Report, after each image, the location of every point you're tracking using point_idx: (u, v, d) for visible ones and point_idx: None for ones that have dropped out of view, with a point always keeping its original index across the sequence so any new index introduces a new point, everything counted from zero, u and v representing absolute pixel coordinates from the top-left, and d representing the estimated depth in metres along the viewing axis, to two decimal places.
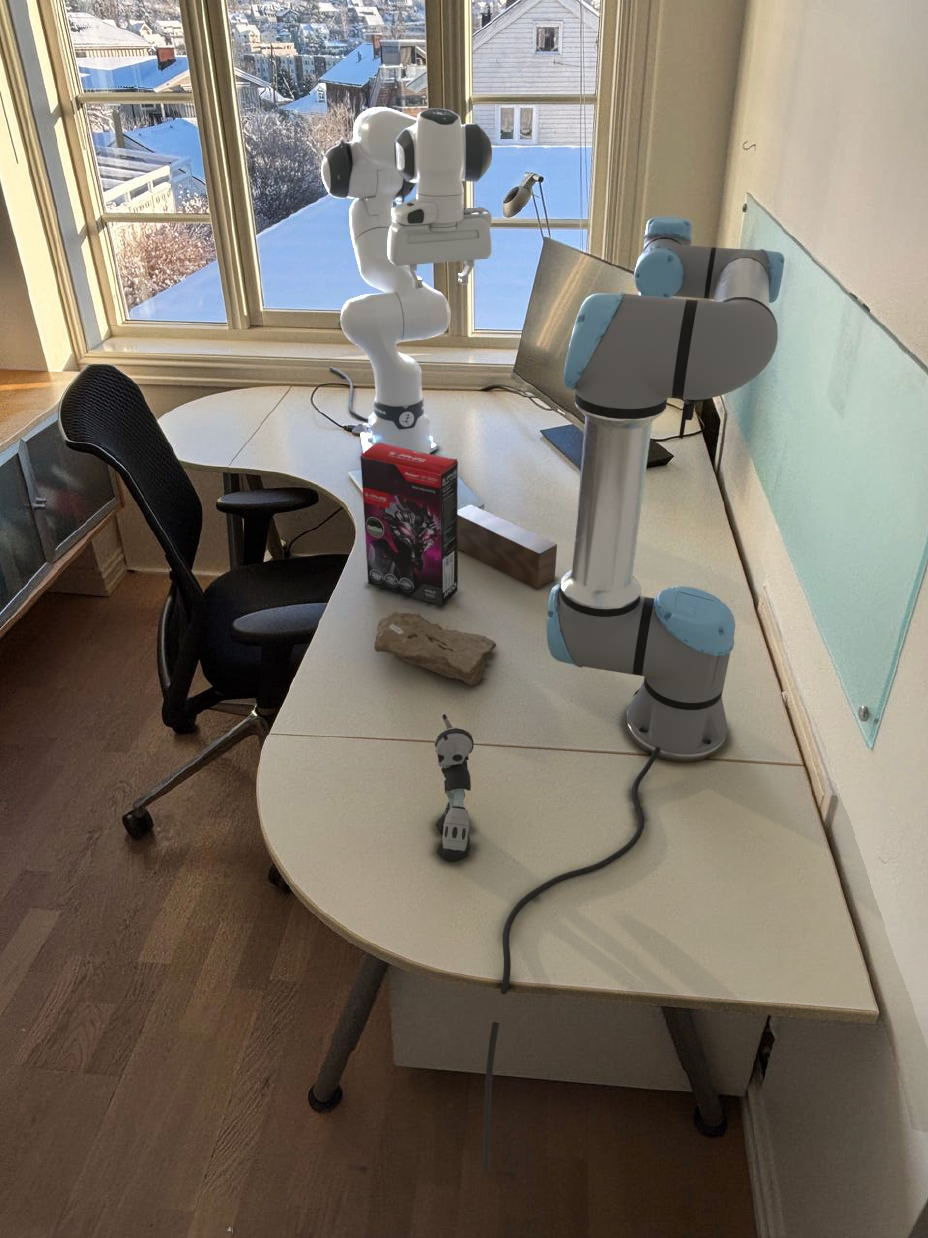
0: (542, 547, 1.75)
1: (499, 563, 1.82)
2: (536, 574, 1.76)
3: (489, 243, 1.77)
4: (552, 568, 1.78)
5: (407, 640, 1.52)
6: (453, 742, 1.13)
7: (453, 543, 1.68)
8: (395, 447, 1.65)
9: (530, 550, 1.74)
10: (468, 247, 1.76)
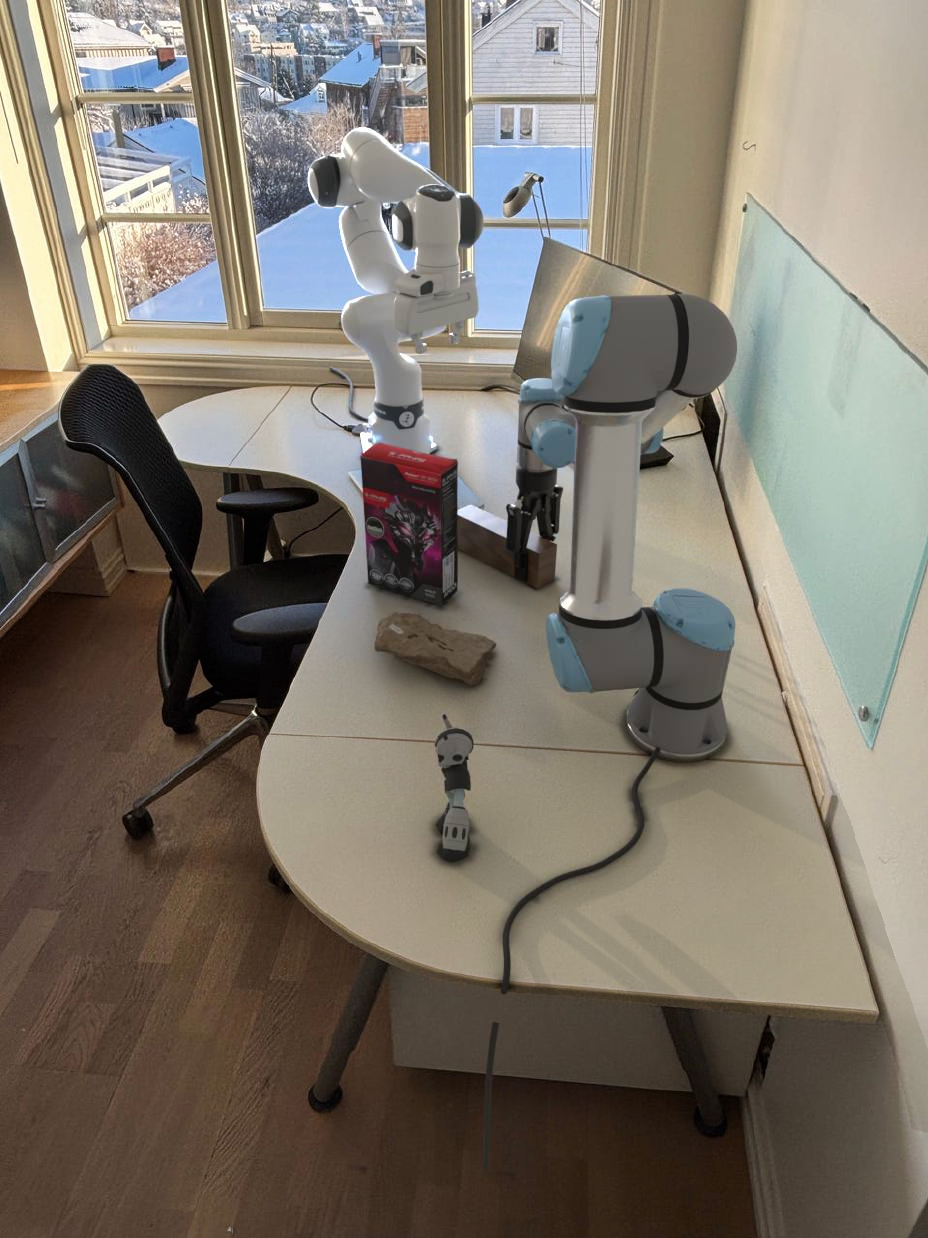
0: (542, 547, 1.75)
1: (499, 563, 1.82)
2: (536, 574, 1.76)
3: (477, 303, 1.88)
4: (552, 568, 1.78)
5: (407, 640, 1.52)
6: (453, 742, 1.13)
7: (453, 543, 1.68)
8: (395, 447, 1.65)
9: (530, 550, 1.74)
10: (462, 309, 1.86)
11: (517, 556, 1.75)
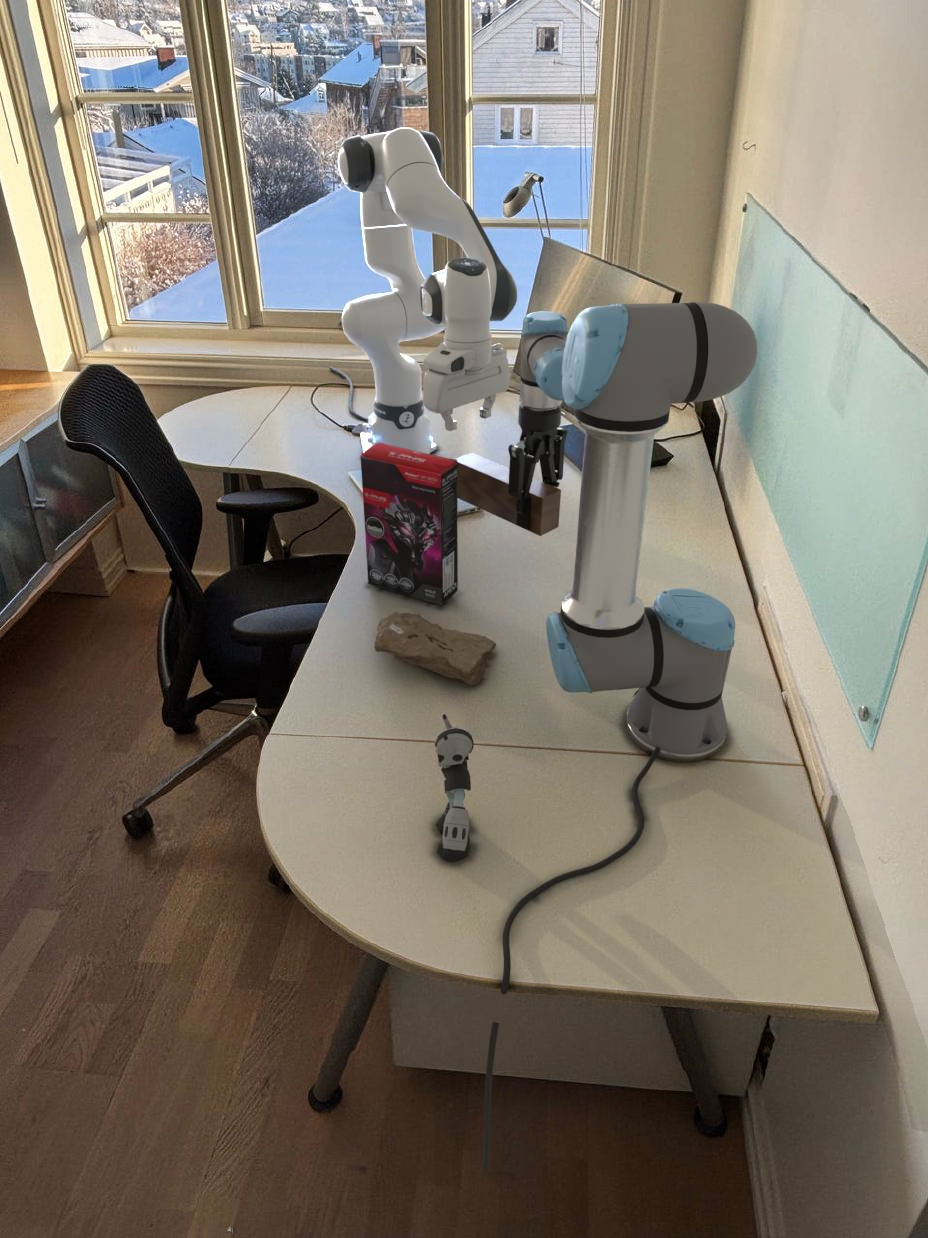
0: (546, 492, 1.68)
1: (501, 511, 1.76)
2: (539, 521, 1.69)
3: (508, 376, 1.80)
4: (556, 515, 1.72)
5: (407, 640, 1.52)
6: (453, 742, 1.13)
7: (453, 543, 1.68)
8: (395, 447, 1.65)
9: (533, 495, 1.68)
10: (493, 383, 1.78)
11: (520, 501, 1.68)
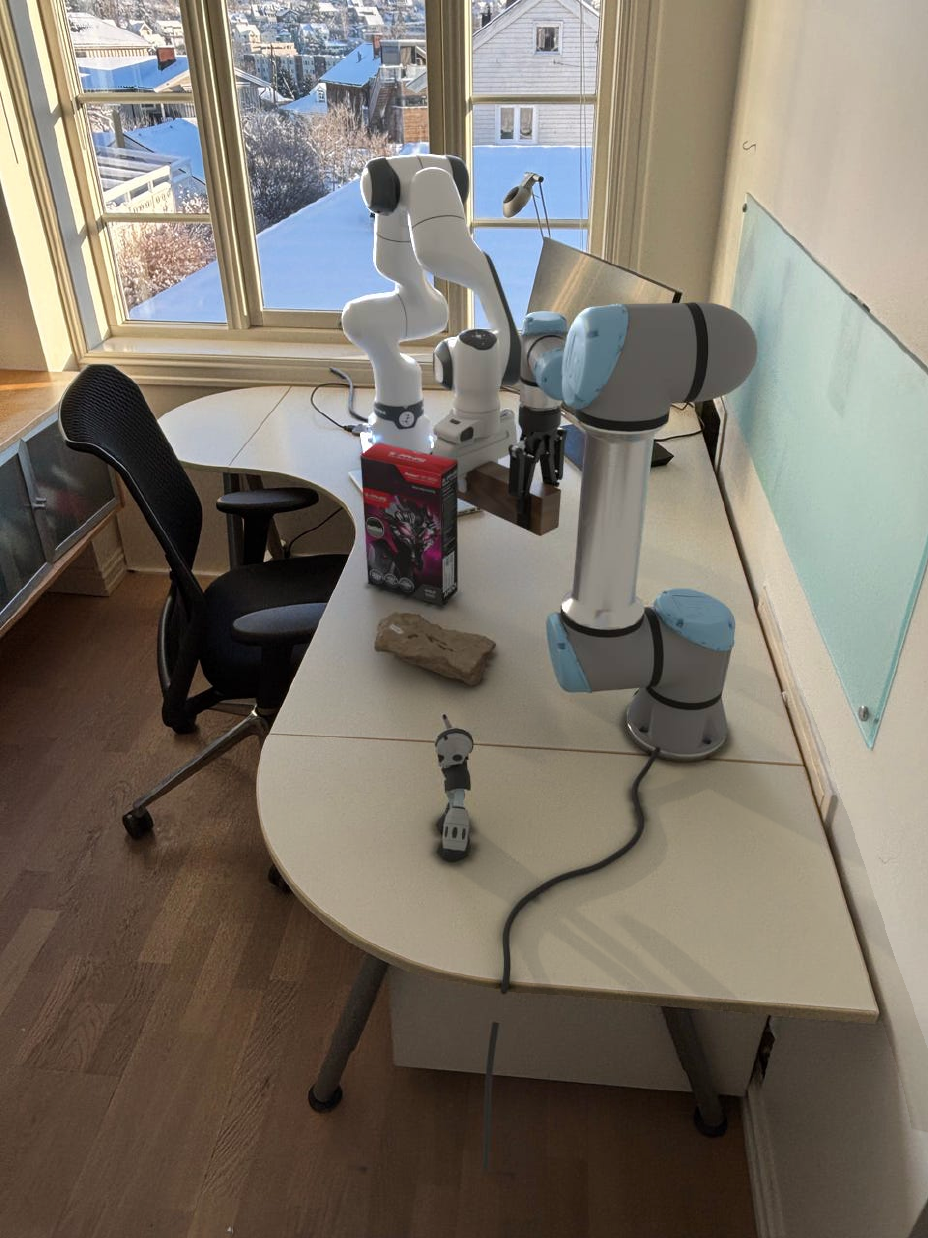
0: (546, 492, 1.68)
1: (501, 511, 1.76)
2: (539, 521, 1.69)
3: (515, 439, 1.83)
4: (556, 515, 1.72)
5: (407, 640, 1.52)
6: (453, 742, 1.13)
7: (453, 543, 1.68)
8: (395, 447, 1.65)
9: (533, 495, 1.68)
10: (500, 447, 1.80)
11: (520, 501, 1.68)
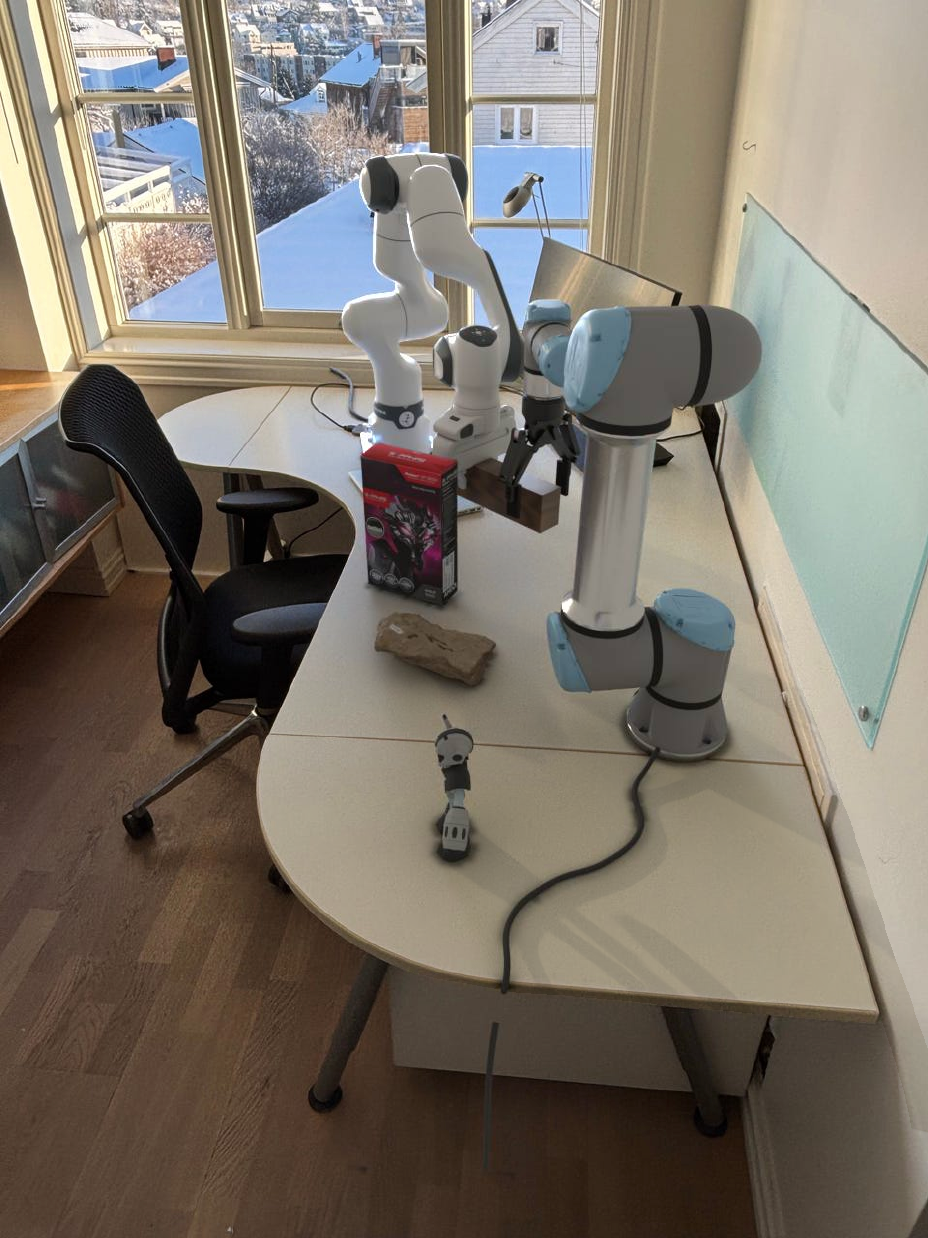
0: (546, 490, 1.68)
1: (500, 508, 1.76)
2: (539, 518, 1.69)
3: None
4: (555, 512, 1.72)
5: (407, 640, 1.52)
6: (453, 742, 1.13)
7: (453, 543, 1.68)
8: (395, 447, 1.65)
9: (533, 492, 1.68)
10: (500, 444, 1.80)
11: (509, 489, 1.63)
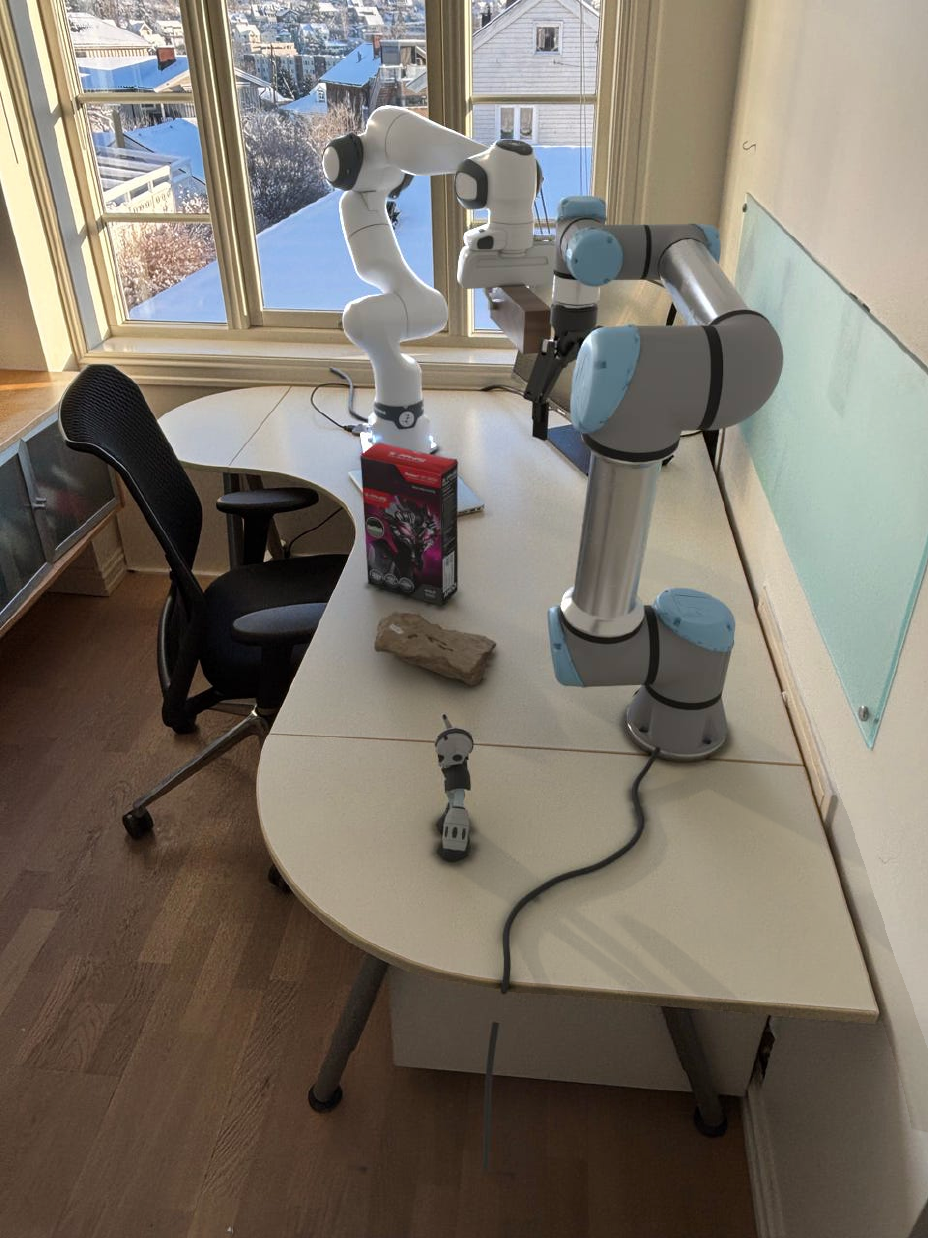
0: (535, 308, 1.67)
1: (508, 329, 1.77)
2: (522, 337, 1.68)
3: None
4: (545, 337, 1.69)
5: (407, 640, 1.52)
6: (453, 742, 1.13)
7: (453, 543, 1.68)
8: (395, 447, 1.65)
9: (521, 308, 1.67)
10: (536, 273, 1.80)
11: (536, 407, 1.51)
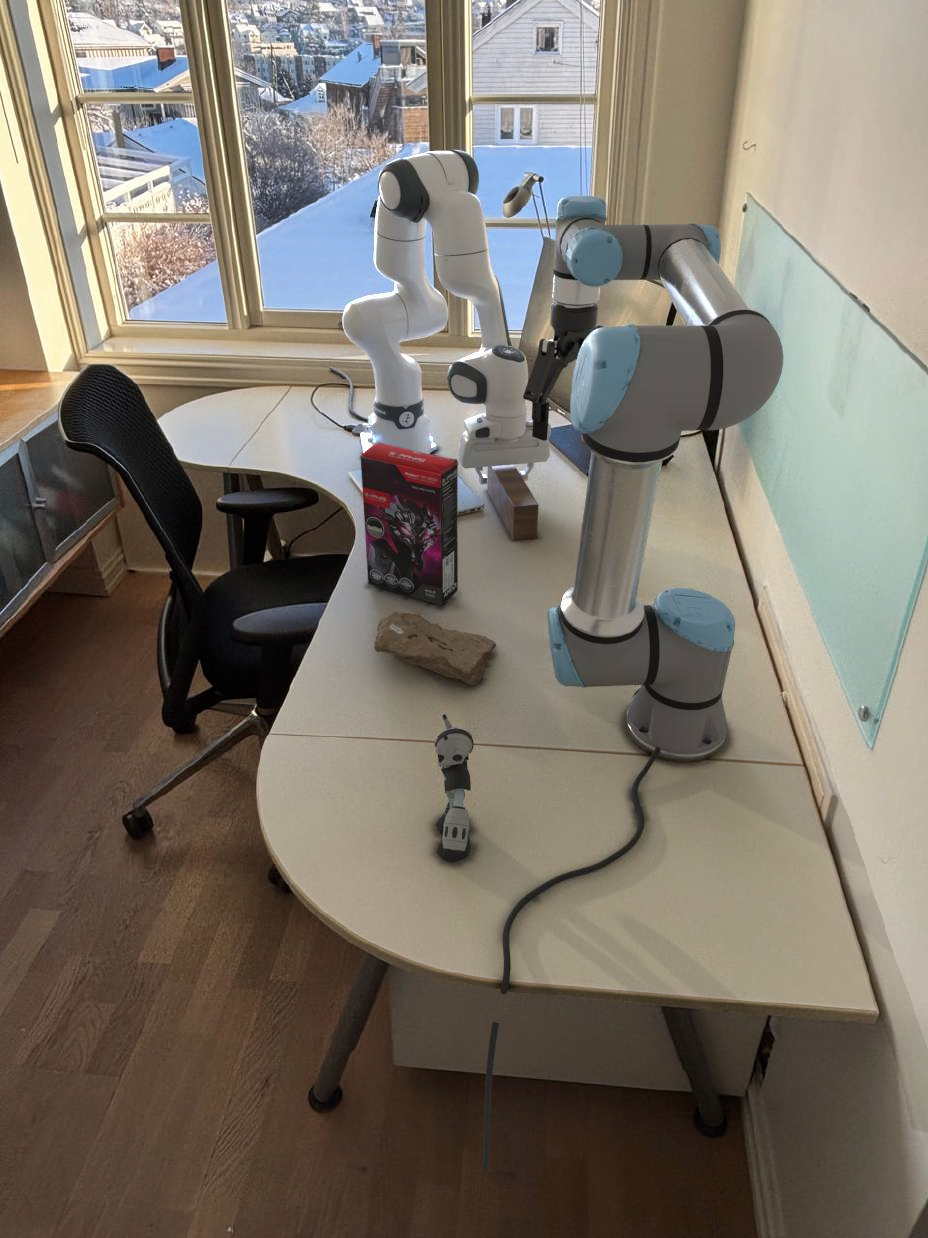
0: (523, 503, 1.90)
1: (501, 511, 2.01)
2: (512, 526, 1.92)
3: (547, 450, 2.03)
4: (532, 525, 1.92)
5: (407, 640, 1.52)
6: (453, 742, 1.13)
7: (453, 543, 1.68)
8: (395, 447, 1.65)
9: (511, 502, 1.91)
10: (528, 453, 2.03)
11: (536, 407, 1.51)
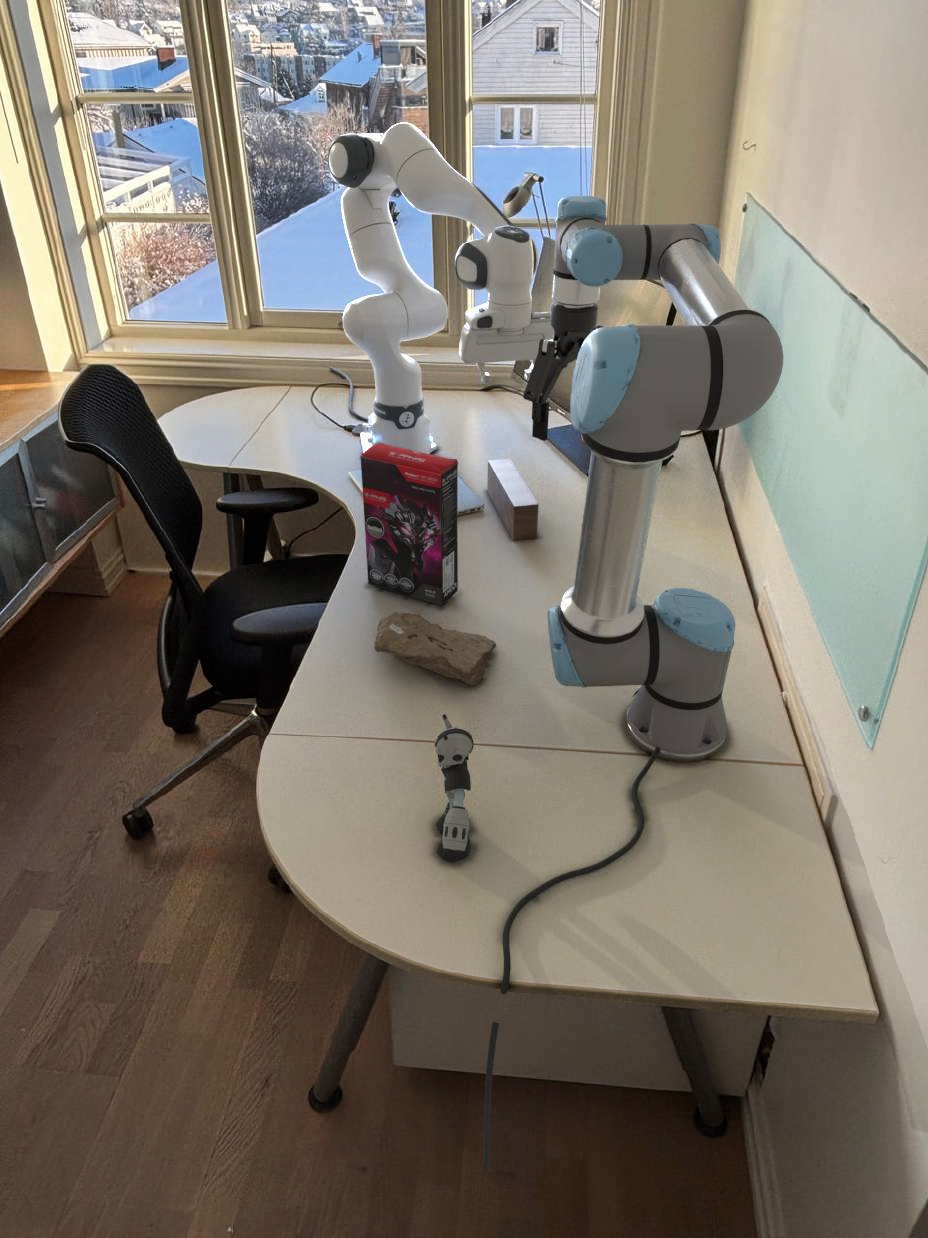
0: (523, 503, 1.90)
1: (501, 511, 2.01)
2: (512, 526, 1.92)
3: None
4: (532, 525, 1.92)
5: (407, 640, 1.52)
6: (453, 742, 1.13)
7: (453, 543, 1.68)
8: (395, 447, 1.65)
9: (511, 502, 1.91)
10: (534, 348, 1.90)
11: (536, 407, 1.51)
